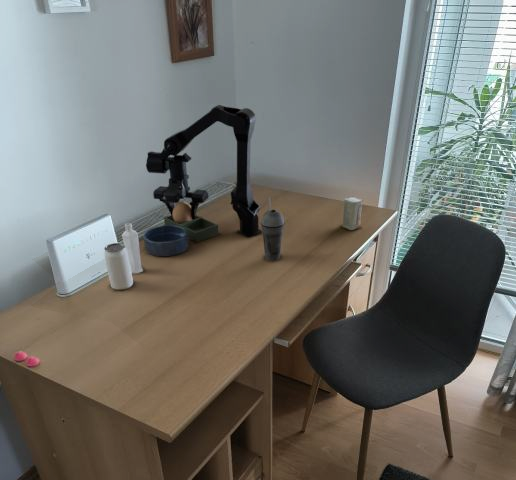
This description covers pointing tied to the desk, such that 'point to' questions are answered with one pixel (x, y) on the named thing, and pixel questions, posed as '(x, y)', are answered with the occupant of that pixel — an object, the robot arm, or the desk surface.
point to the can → (118, 266)
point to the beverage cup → (272, 233)
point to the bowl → (166, 240)
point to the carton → (196, 228)
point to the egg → (182, 213)
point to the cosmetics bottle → (352, 213)
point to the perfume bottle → (132, 248)
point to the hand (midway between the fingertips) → (183, 218)
